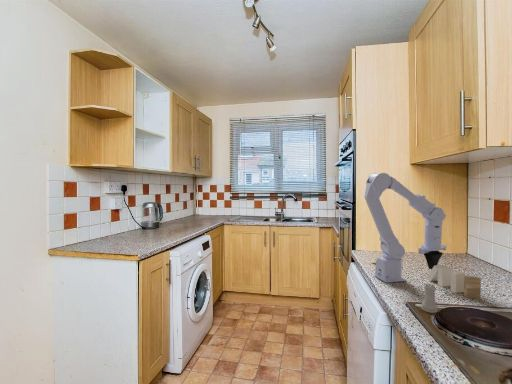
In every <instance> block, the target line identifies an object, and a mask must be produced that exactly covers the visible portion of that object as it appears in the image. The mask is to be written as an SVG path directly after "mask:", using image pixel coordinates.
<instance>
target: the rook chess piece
mask: <svg viewBox="0 0 512 384" xmlns="http://www.w3.org/2000/svg"><path fill="white" fill-rule="evenodd" d="M423 288H424V290H425V291H424V299H423V301H422V303H421V306H420V307H421V309H422V311H424V312H426V313H429V314H436V313H437V312H438V311H439V310H438V308H439V307H438V305H437V303H436V299H435V295H436V293H435V292H436V290H437V289H436V286H435V285H434V284H430V283H425V285H424V286H423Z"/></svg>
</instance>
